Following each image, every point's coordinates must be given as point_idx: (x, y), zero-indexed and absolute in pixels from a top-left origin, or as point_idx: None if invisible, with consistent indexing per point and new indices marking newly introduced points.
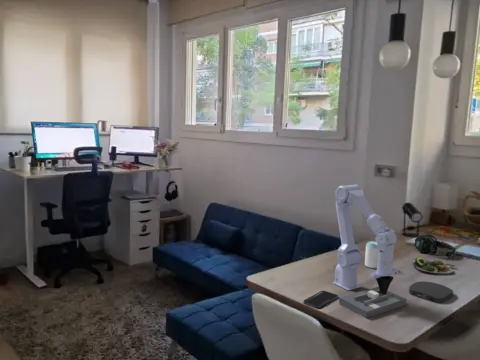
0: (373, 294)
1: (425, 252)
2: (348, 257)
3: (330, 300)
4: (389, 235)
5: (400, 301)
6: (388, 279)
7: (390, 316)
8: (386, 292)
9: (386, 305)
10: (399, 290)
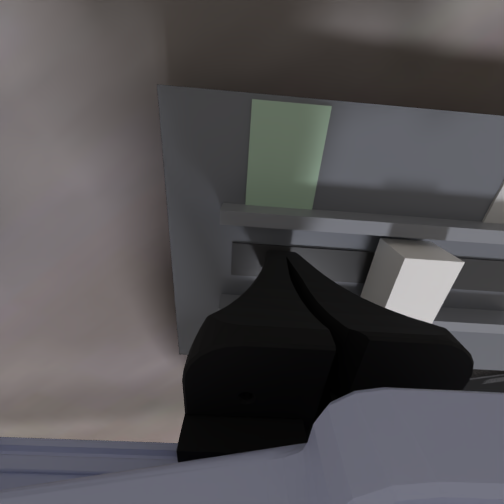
0: (455, 274)
1: None
2: None
3: (499, 375)
4: None
5: (254, 93)
6: (385, 342)
7: (488, 25)
8: (271, 253)
9: (458, 112)
10: (38, 279)
